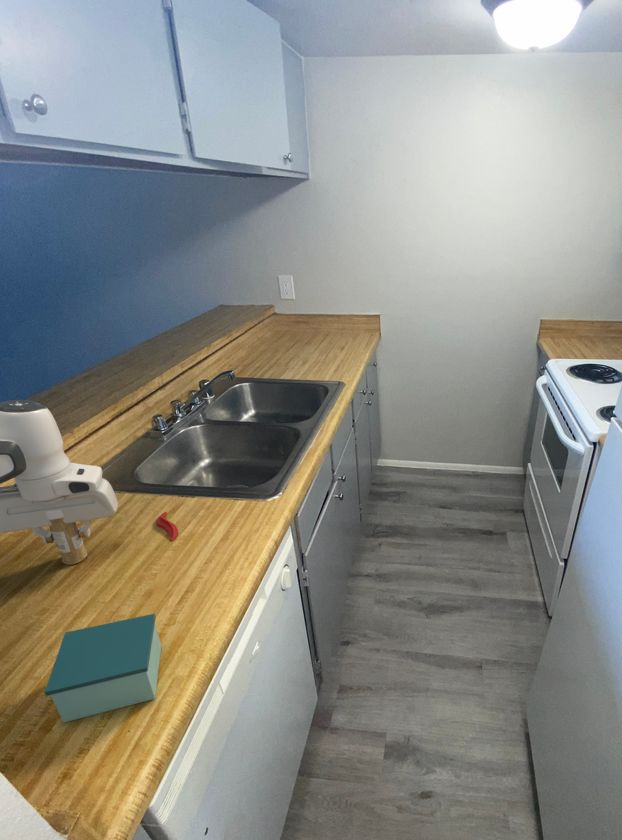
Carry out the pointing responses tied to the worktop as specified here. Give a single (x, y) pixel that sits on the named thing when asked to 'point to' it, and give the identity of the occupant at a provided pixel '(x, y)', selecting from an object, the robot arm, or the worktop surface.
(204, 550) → the worktop surface
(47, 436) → the robot arm
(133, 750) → the worktop surface
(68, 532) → the sprinkles bottle
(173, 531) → the cayenne pepper
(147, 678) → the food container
